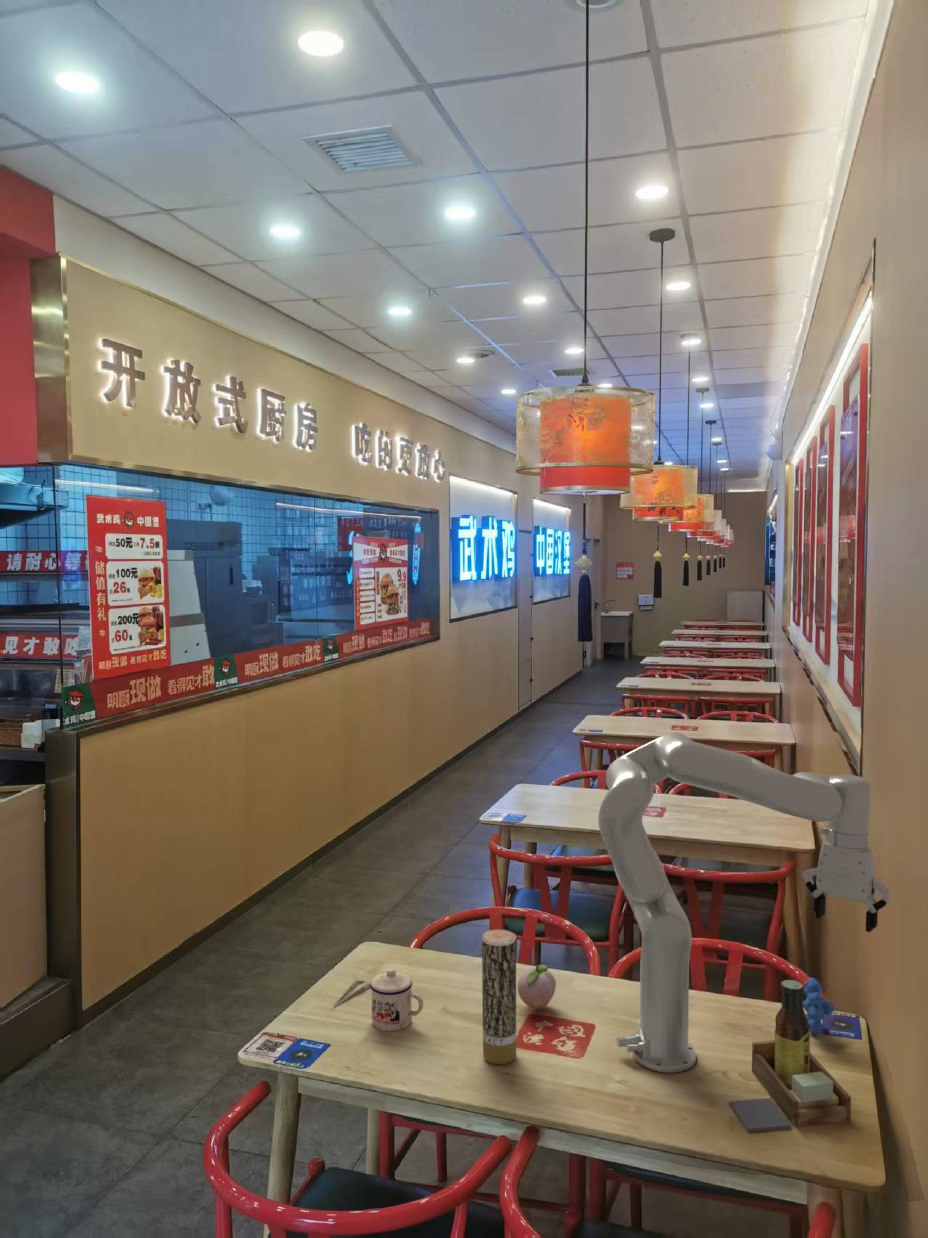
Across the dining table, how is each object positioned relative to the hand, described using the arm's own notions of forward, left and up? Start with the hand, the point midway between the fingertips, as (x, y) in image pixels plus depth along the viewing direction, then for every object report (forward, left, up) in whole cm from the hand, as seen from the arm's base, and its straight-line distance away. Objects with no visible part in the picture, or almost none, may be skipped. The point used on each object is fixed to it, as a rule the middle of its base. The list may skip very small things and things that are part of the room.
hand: (844, 923), depth 176 cm
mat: (-25, -16, -28) cm, 40 cm away
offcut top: (-15, -16, -25) cm, 33 cm away
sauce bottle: (-15, -8, -28) cm, 33 cm away
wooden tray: (-15, -11, -28) cm, 33 cm away
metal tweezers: (-100, +38, -29) cm, 110 cm away
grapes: (0, +9, -28) cm, 29 cm away
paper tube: (-68, +9, -28) cm, 74 cm away
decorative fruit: (-57, +27, -28) cm, 69 cm away
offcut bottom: (-15, -16, -28) cm, 35 cm away
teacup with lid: (-88, +25, -28) cm, 96 cm away
